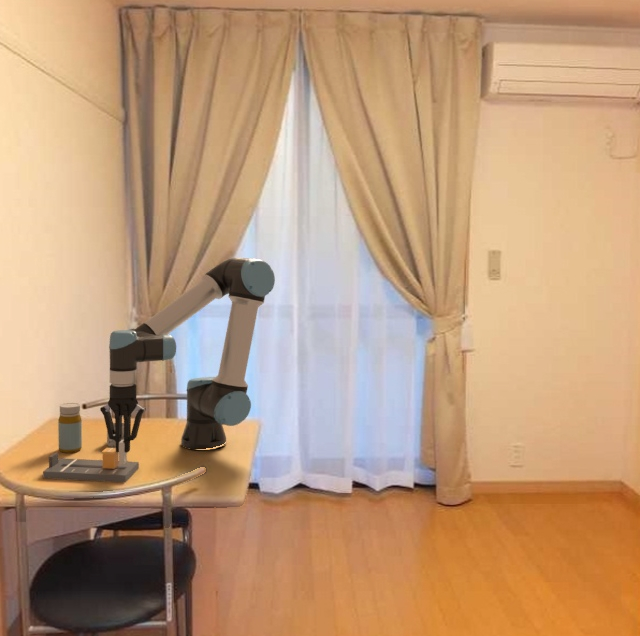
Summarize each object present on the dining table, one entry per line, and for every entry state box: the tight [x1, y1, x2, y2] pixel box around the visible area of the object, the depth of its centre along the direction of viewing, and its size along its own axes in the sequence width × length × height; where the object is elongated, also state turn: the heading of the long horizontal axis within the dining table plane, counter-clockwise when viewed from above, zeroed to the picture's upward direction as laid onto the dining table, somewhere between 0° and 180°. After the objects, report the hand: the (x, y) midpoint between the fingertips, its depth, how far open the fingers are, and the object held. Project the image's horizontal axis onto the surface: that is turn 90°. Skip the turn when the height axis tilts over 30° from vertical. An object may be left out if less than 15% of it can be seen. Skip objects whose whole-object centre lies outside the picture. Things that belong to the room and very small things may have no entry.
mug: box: [106, 422, 124, 448], centre depth 229 cm, size 10×7×7 cm, turn 20°
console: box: [42, 452, 140, 483], centre depth 199 cm, size 24×12×5 cm, turn 87°
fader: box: [101, 447, 119, 469], centre depth 199 cm, size 4×4×5 cm
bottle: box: [57, 402, 83, 454], centre depth 219 cm, size 7×7×15 cm
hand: (122, 462), depth 199 cm, fingers closed
